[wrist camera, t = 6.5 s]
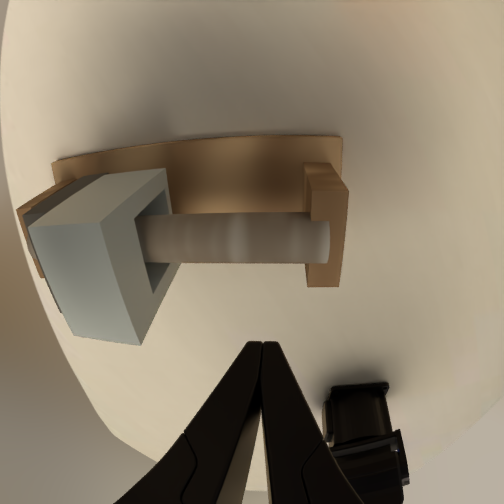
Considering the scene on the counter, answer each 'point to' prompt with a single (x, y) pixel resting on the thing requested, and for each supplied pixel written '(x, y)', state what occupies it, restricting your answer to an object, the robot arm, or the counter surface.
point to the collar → (52, 203)
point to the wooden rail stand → (234, 200)
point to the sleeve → (105, 256)
